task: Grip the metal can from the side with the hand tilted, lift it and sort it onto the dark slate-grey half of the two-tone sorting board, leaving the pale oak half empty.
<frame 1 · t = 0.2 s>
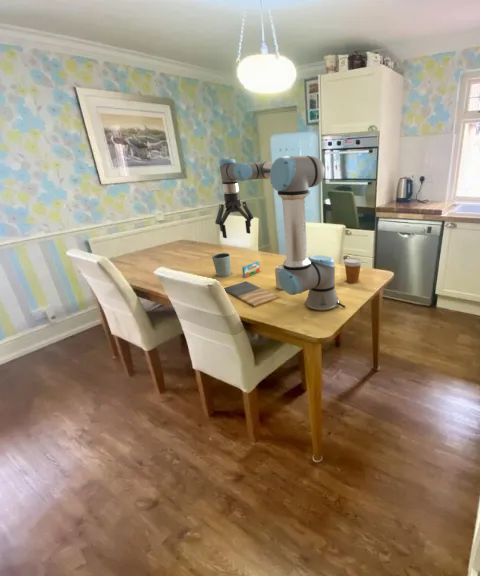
hand: (237, 235, 164), 28 cm above the table, tool pointing down, fingers open, 13 cm apart
sorting board: (250, 293, 164), on the table
disposable coffee cup: (352, 281, 176), on the table
can: (283, 287, 170), on the table
colorful food box: (251, 274, 191), on the table
grey cylindrical pot: (223, 274, 192), on the table
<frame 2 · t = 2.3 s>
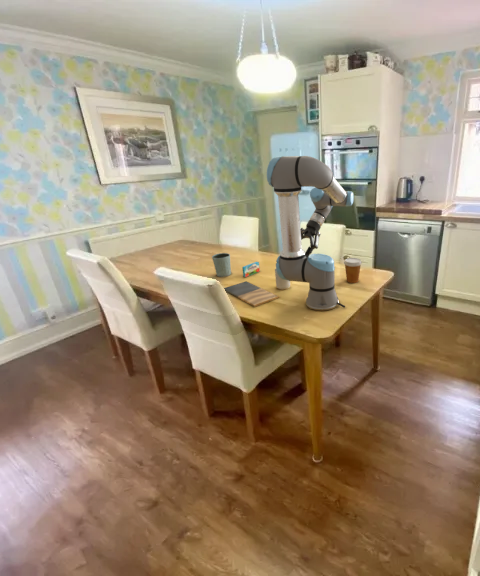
hand: (296, 255, 171), 15 cm above the table, tool tilted 45°, fingers open, 13 cm apart
nothing on the table moved.
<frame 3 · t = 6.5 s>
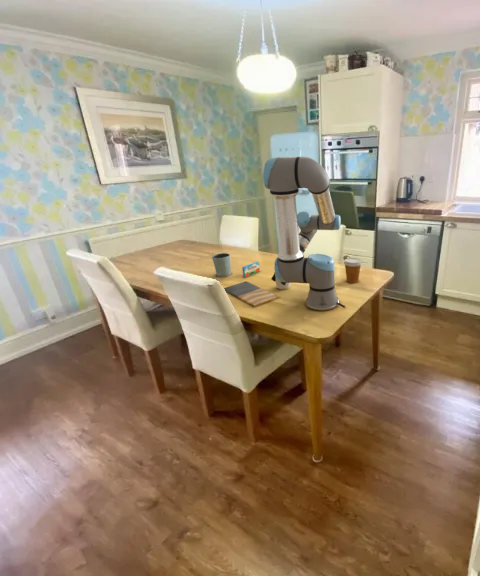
hand: (277, 282, 167), 4 cm above the table, tool tilted 45°, fingers closed on can, 7 cm apart
can: (283, 287, 170), on the table, touching gripper
everything else where it was.
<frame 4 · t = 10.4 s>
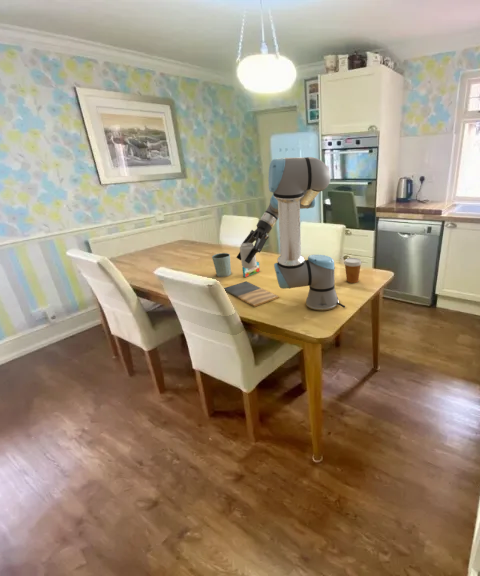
hand: (242, 260, 161), 17 cm above the table, tool tilted 45°, fingers closed on can, 7 cm apart
can: (249, 266, 165), point 12 cm above the table, touching gripper
everything else where it was.
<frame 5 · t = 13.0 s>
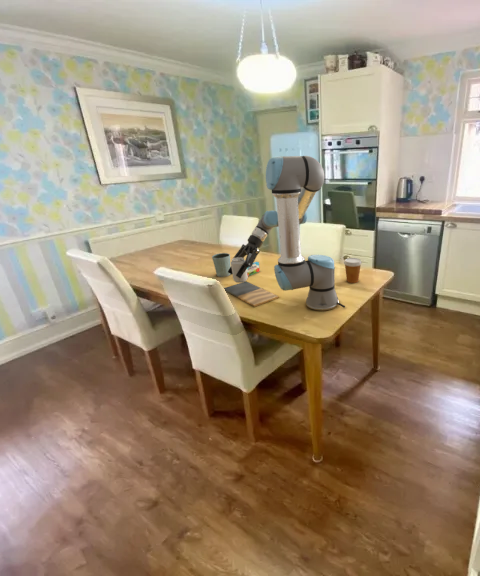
hand: (233, 275, 163), 9 cm above the table, tool tilted 45°, fingers closed on can, 7 cm apart
can: (240, 280, 167), point 5 cm above the table, touching gripper
everything else where it was.
when the fingers open (5 cm above the table, at t = 14.6 s): can stays where it is, resting on sorting board.
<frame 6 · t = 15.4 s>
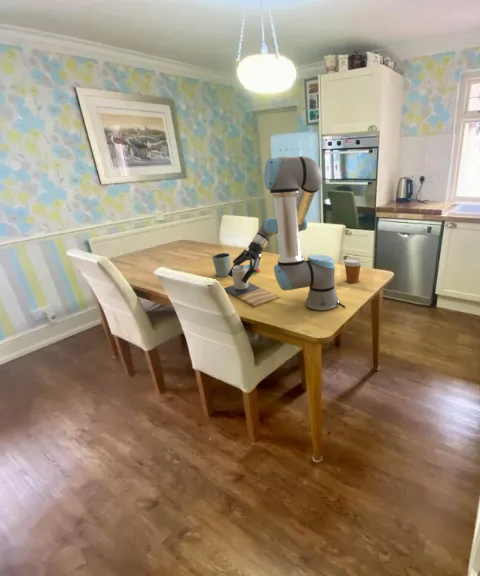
hand: (236, 279, 165), 7 cm above the table, tool tilted 45°, fingers open, 13 cm apart
can: (241, 288, 169), point 1 cm above the table, touching sorting board
everything else where it was.
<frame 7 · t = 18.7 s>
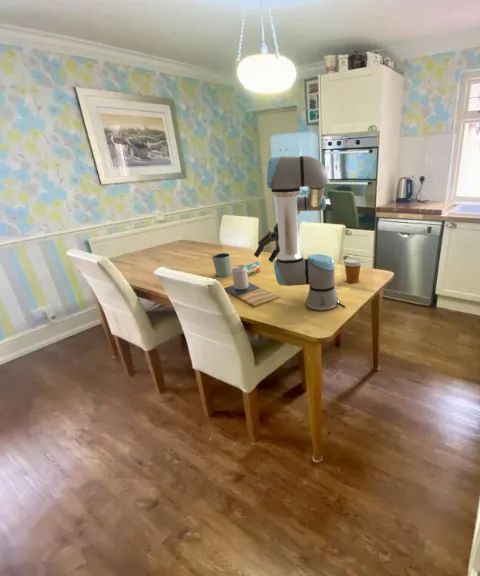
hand: (262, 258, 171), 14 cm above the table, tool tilted 45°, fingers open, 13 cm apart
nothing on the table moved.
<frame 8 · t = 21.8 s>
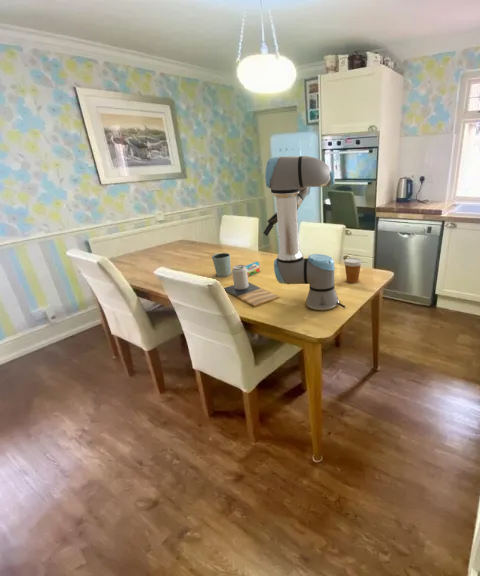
hand: (272, 236, 169), 26 cm above the table, tool tilted 45°, fingers open, 13 cm apart
nothing on the table moved.
at the end: can inside the target area (0.5 cm from its centre), point 0.8 cm above the table; can tilted 0°; the gripper is holding nothing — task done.
